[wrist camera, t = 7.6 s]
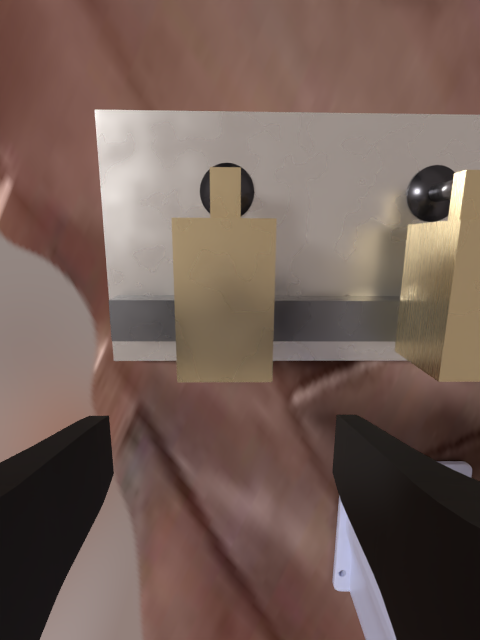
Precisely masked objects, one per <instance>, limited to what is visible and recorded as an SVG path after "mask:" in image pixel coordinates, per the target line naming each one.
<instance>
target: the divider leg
mask: <svg viewBox="0 0 480 640" xmlns="http://www.w3.org/2000/svg"><path fill="white" fill-rule="evenodd" d="M276 225H277V218H241V167H210V218H172V246H173V275H174V303H175V331H176V359H177V382H272V369H273V333H274V297H275V261H276Z"/></svg>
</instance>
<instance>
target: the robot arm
mask: <svg viewBox="0 0 480 640" xmlns="http://www.w3.org/2000/svg"><path fill="white" fill-rule="evenodd" d="M113 474H114V472H113V459H112V447H111V435H110V423H109V416H88V417H86V418H84V419H81V420H79V421H77V422H75V423H74V424H72V425H70V426H68V427H66V428H64V429H63V430H61V431H59V432H57V433H55V434H54V435H52V436H50V437H48V438H47V439H45V440H43V441H41V442H39V443H38V444H36V445H34V446H32V447H30V448H28V449H26V450H24V451H22V452H20V453H18V454H16V455H15V456H12V457H10V458H9V459H7V460H5V461H3V462H1V463H0V640H40V637H41V634H42V632H43V630H44V627H45V625H46V622H47V620H48V617H49V615H50V612H51V610H52V607H53V605H54V602H55V600H56V597H57V595H58V593H59V591H60V589H61V586H62V584H63V582H64V580H65V578H66V576H67V574H68V572H69V570H70V568H71V566H72V564H73V562H74V560H75V558H76V556H77V554H78V552H79V550H80V548H81V547H82V544H83V542H84V541H85V539H86V537H87V535H88V533H89V531H90V529H91V527H92V525H93V523H94V521H95V519H96V517H97V515H98V513H99V511H100V509H101V507H102V505H103V502H104V500H105V497H106V494H107V492H108V489H109V486H110V483H111V480H112V477H113ZM333 475H334V479H335V482H336V486H337V489H338V493H339V505H338V518H337V531H336V544H335V556H334V569H333V585H334V588H335V589H336V590H337V591H350V593H351V596H352V599H353V602H354V605H355V608H356V611H357V614H358V617H359V620H360V623H361V626H362V629H363V632H364V635H365V638H366V640H480V481H477V480H475V479H473V478H471V476H472V467H471V466H470V465H469V464H468V463H466V462H464V461H435V460H433V459H431V458H430V457H428V456H426V455H424V454H422V453H420V452H418V451H417V450H415V449H413V448H411V447H410V446H408V445H406V444H405V443H403V442H401V441H400V440H398V439H396V438H395V437H393V436H391V435H390V434H388V433H386V432H385V431H383V430H382V429H380V428H378V427H377V426H375V425H373V424H372V423H370V422H368V421H367V420H365V419H363V418H361V417H359V416H357V415H337V417H336V431H335V445H334V459H333ZM341 570H343V571H341Z"/></svg>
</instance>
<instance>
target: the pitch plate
mask: <svg viewBox="0 0 480 640" xmlns="http://www.w3.org/2000/svg"><path fill="white" fill-rule="evenodd" d="M95 120H96V133H97V146H98V159H99V172H100V185H101V198H102V211H103V225H104V238H105V251H106V264H107V277H108V290H109V310H110V324H111V337H112V342H113V355H114V361H177V359H176V331H175V303H174V275H173V246H172V218H210V167H241V218H277V225H276V261H275V297H274V333H273V361H409V362H411V363H412V364H414V365H415V366H417V367H418V368H419V369H421V370H422V371H424V372H425V373H427V374H428V375H430V376H431V377H433V378H434V379H435V380H437V381H438V382H480V115H449V114H375V113H301V112H227V111H153V110H95Z"/></svg>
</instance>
